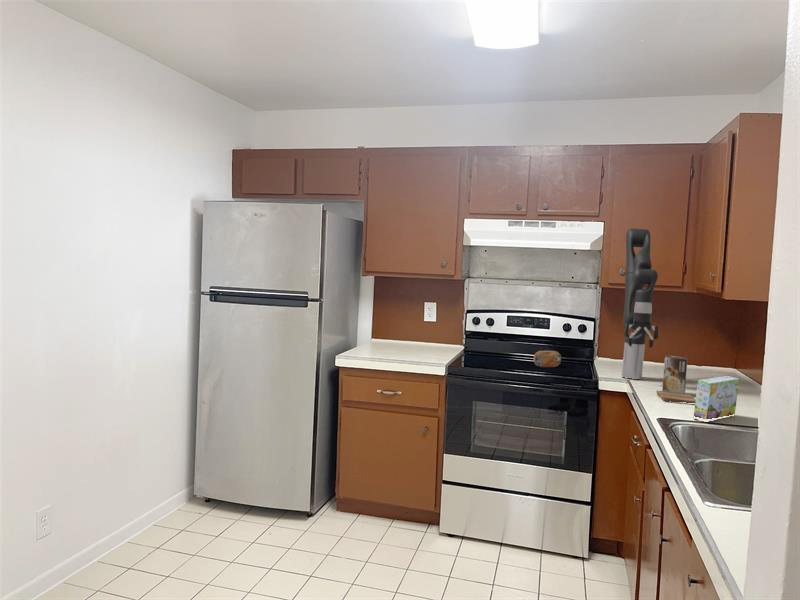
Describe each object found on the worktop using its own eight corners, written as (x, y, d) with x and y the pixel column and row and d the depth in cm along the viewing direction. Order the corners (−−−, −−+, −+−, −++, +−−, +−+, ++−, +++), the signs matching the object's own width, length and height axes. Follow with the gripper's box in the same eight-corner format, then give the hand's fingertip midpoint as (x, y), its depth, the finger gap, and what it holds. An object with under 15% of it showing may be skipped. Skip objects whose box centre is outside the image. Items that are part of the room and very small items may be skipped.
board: (656, 393, 259) (656, 390, 259) (688, 397, 256) (688, 393, 256) (663, 401, 245) (663, 398, 245) (697, 405, 243) (697, 401, 243)
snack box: (707, 423, 215) (712, 382, 214) (692, 419, 220) (696, 379, 218) (736, 416, 228) (740, 377, 226) (721, 413, 232) (725, 374, 231)
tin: (534, 367, 306) (536, 351, 305) (531, 366, 309) (533, 349, 308) (561, 367, 310) (562, 351, 309) (558, 366, 313) (559, 350, 312)
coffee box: (685, 393, 263) (688, 357, 262) (684, 396, 257) (688, 359, 256) (662, 390, 267) (665, 354, 266) (661, 393, 262) (664, 356, 260)
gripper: (657, 313, 278) (654, 347, 279) (625, 310, 282) (622, 345, 282) (660, 313, 271) (658, 349, 271) (627, 311, 274) (625, 346, 275)
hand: (640, 347), depth 277 cm, fingers open, 8 cm apart
